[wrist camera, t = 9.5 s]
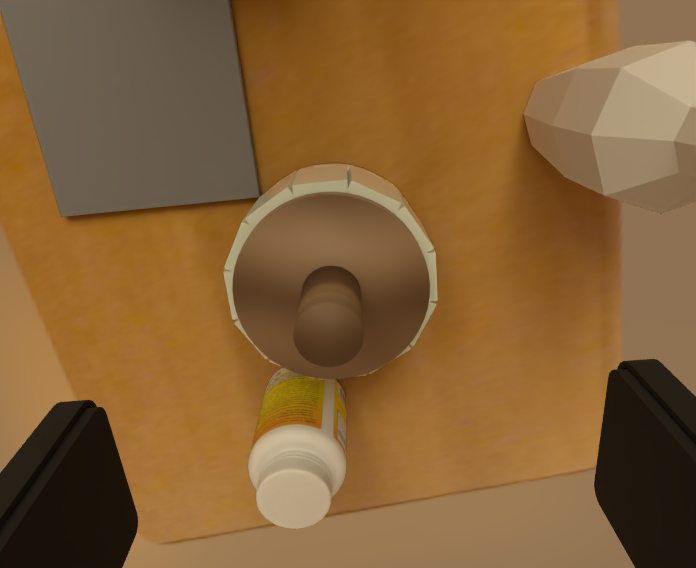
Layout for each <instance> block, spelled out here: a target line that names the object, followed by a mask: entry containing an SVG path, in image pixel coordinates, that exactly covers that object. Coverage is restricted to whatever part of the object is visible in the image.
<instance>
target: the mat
mask: <svg viewBox="0 0 696 568" xmlns="http://www.w3.org/2000/svg"><path fill="white" fill-rule="evenodd" d="M0 12H1V15H2V18H3V22H4V25H5V29H6V32H7V35H8V39H9V42H10V45H11V49H12V52H13V56H14V59H15V62H16V66H17V69H18V73H19V76H20V79H21V83H22V86H23V90H24V93H25V96H26V100H27V103H28V107H29V110H30V113H31V117H32V120H33V124H34V127H35V130H36V134H37V137H38V140H39V144H40V147H41V151H42V154H43V157H44V161H45V164H46V168H47V171H48V174H49V178H50V181H51V185H52V188H53V191H54V195H55V198H56V202H57V205H58V208H59V212H60V215H61V217H65V216H75V215H85V214H95V213H105V212H115V211H125V210H136V209H146V208H156V207H166V206H176V205H186V204H196V203H206V202H216V201H227V200H237V199H247V198H257V197H260V196H261V193H260V187H259V181H258V174H257V168H256V162H255V155H254V149H253V143H252V136H251V130H250V123H249V117H248V111H247V104H246V98H245V92H244V85H243V79H242V73H241V66H240V60H239V54H238V47H237V41H236V35H235V28H234V22H233V16H232V9H231V3H230V0H0Z"/></svg>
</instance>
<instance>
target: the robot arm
mask: <svg viewBox="0 0 696 568" xmlns="http://www.w3.org/2000/svg"><path fill="white" fill-rule="evenodd" d="M594 487H595V493H596V497H597V500H598V502H599V505H600V506H601V508H602V510H603V512H604V513H605V515H606V517H607V519H608V520H609V522H610V524H611V526H612V527H613V529H614V531H615V533H616V535H617V536H618V538H619V540H620V541H621V543H622V545H623V547H624V548H625V550H626V552H627V554H628V556H629V557H630V559H631V561H632V563H633V564H634V566H635V568H696V397H695V396H694V395H693V394H692V393H691V392H690V391H689V390H688V389H687V388H686V387H685V386H684V385H683V384H682V383H681V382H680V381H679V380H678V379H677V378H676V377H675V376H674V375H673V374H672V373H671V372H670V371H669V370H668V369H667V368H666V367H665V366H664V365H663V364H662V363H660V362H659V361H658V360H655V359H647V360H633V361H623V362H621V363H620V364H619V366H618V369H617V370H612V371H611V372H610V374H609V377H608V385H607V392H606V399H605V407H604V414H603V422H602V429H601V437H600V444H599V452H598V459H597V467H596V474H595V482H594ZM137 527H138V516H137V512H136V508H135V505H134V502H133V499H132V495H131V492H130V489H129V486H128V482H127V479H126V476H125V473H124V469H123V466H122V463H121V460H120V456H119V453H118V450H117V447H116V443H115V440H114V437H113V434H112V430H111V427H110V424H109V421H108V417H107V414H106V412H105V410H104V409H103V408H101V407H97V406H96V404H95V403H94V402H93V401H91V400H83V401H71V402H60V403H57V404H56V405H55V406H53V408H52V409H51V411H49V413H48V414H47V415H46V417H45V418H44V419H43V420H42V421H41V423H40V424H39V425H38V427H37V428H36V429H35V430H34V432H33V433H32V434H31V435H30V437H29V438H28V439H27V440H26V442H25V443H24V444H23V445H22V447H21V448H20V449H19V450H18V452H17V453H16V454H15V455H14V457H13V458H12V459H11V460H10V462H9V463H8V464H7V465H6V467H5V468H4V469H3V471H2V472H1V473H0V568H122V567H123V565H124V562H125V560H126V557H127V555H128V552H129V550H130V548H131V545H132V543H133V541H134V538H135V536H136V533H137Z"/></svg>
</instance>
